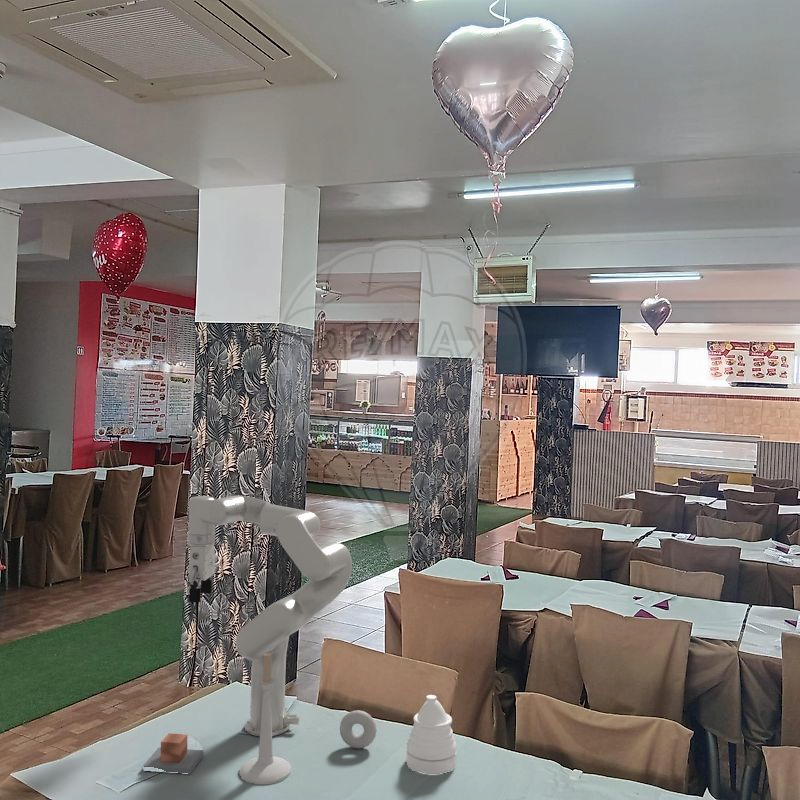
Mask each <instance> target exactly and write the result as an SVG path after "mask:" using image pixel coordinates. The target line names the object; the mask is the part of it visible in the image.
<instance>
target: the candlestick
mask: <svg viewBox="0 0 800 800" xmlns="http://www.w3.org/2000/svg"><path fill="white" fill-rule="evenodd" d="M271 663H272V654H271V653H268V652H267V653H265V654H264V662H263V679H262V680H260V682H261V683H262V689H263V691H264V694H263V702H262V716H261V731H260V736H259V746H258V747H259V748H258V756H257V757H254V758H251V759H249V760H247V761H246V762H244V763H243V764H242V765H241V766H240V768H239V774H240V775H239V774H238V775H239V777H240V776H241V777H240V779H242V780H243V779H244V780H245V781H244V780H243V781H244V782H246V781H248V782H247V783H249V782H250V783H249V784H252V783H254V784H253V785H273V784H276V783H279V782H281V781H284V780H286V779H287V778H288V777H289V776H290V775H291V773H292V765H291V764H290V762H289V761H287V760H285V759H284V758H281V757H279V756H275V755H274V751H273V750H274V747H273V736H272V716H271V694H270V691H271V688H272V683H273V682H274V679H271Z"/></svg>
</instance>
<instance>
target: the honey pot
mask: <svg viewBox="0 0 800 800" xmlns="http://www.w3.org/2000/svg"><path fill="white" fill-rule="evenodd" d="M425 698H426V701H425V702H424V704H423V705H422V706H421V708H420V710H419V711H418V712H417V713H416V714H415V715H414V716H413V722H414V723H413V725H412V727H411V729H410V733H409V737H408V738H407V740H406V758H405V759H406V761H405V762H407V764H406V766H407V765H408V766H409V767H410V768H411V769H413V770H415V771H418V772H422V773H426V774H440V773H445V772H448V771H451V770H452V769H454V768H456V767H457V742H456V740H455V735H454V733H453V732H454V730H453V729H452V726H451V725H452V723H453V717H452V716H451V715H450V714H448V713H446V710H445V709H444V707H443V706H442V704H441V702H440V701H439V700H438V699H437V695H434V694H428V695H426V697H425ZM408 766H407V767H408ZM455 766H456V767H455ZM409 767H408V768H409ZM410 768H409V769H410ZM411 769H410V770H411ZM413 770H412V771H413ZM454 770H455V769H454ZM452 771H453V770H452ZM452 771H451V772H452Z"/></svg>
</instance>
